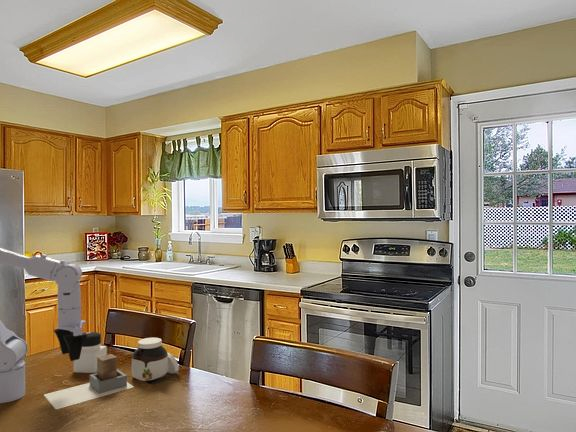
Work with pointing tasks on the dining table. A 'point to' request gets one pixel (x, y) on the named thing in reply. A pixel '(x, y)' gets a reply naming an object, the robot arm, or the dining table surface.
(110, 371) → the rail post
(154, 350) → the spread jar
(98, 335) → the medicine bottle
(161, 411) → the dining table surface
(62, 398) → the board
